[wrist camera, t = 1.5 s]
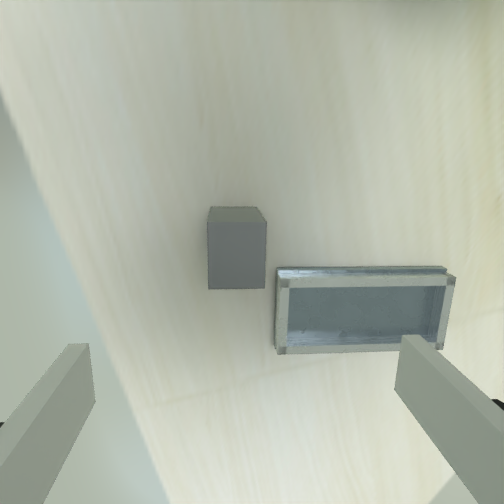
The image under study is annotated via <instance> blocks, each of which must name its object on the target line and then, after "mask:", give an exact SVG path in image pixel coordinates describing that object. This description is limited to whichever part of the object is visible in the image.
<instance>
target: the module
mask: <svg viewBox="0 0 504 504" xmlns="http://www.w3.org/2000/svg"><path fill="white" fill-rule="evenodd" d="M266 227H267V222H266V221H265V219H264V217H263V216H262V214H261V213H260V211H259V210H258V208H257V207H211V208H210V212H209V217H208V221H207V238H208V289H260V288H265V261H266Z"/></svg>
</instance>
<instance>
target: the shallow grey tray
mask: <svg viewBox="0 0 504 504" xmlns="http://www.w3.org/2000/svg"><path fill="white" fill-rule="evenodd" d="M446 271H447V269H446V268H444V267H442V266H409V267H294V268H277V280H276V306H275V332H274V347H275V349H276V351H277V354H278V355H279V354H313V353H347V352H381V351H400V347H401V340H402V335H418V334H419V335H420V336H421V337H422V338H424V339H425V340H426V341H427V342H428V343H429V344H430V345H431V346H432V347H433V348H435V349H436V350H443V346H444V340H445V335H446V330H447V324H448V319H449V313H450V308H451V303H452V297H453V292H454V287H455V281H456V277H455V276H453V275H451V274H449V273H447V272H446Z"/></svg>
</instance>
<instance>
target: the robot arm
mask: <svg viewBox="0 0 504 504" xmlns="http://www.w3.org/2000/svg"><path fill="white" fill-rule="evenodd" d="M394 390H395V391H396V393H397V394H398V395H399V397H400V398H401V399H402V401H403V402H404V403H405V405H406V406H407V408H408V409H409V410H410V412H411V413H412V414H413V416H414V417H415V418H416V420H417V421H418V422H419V424H420V425H421V426H422V428H423V429H424V431H425V432H426V433H427V435H428V436H429V437H430V439H431V440H432V441H433V443H434V444H435V445H436V447H437V448H438V449H439V451H440V452H441V454H442V455H443V456H444V458H445V459H446V460H447V462H448V463H449V464H450V466H451V467H452V468H453V470H454V471H455V472H456V474H457V475H458V477H459V478H460V479H461V481H462V482H463V483H464V485H465V486H466V487H467V489H468V490H469V491H470V493H471V494H472V495H473V497H474V498H475V499H476V501H477V502H478V504H504V403H503V402H501V401H499V400H498V399H490V398H489V397H488V396H487V395H485V394H484V393H483V392H482V391H481V390H480V389H479V388H478V387H477V386H476V385H474V384H473V383H472V382H471V381H470V380H469V379H468V378H467V377H466V376H464V375H463V374H462V373H461V372H460V371H459V370H458V369H457V368H456V367H455V366H453V365H452V364H451V363H450V362H449V361H448V360H447V359H446V358H445V357H443V356H442V355H441V354H440V353H439V352H438V351H437V350H436V349H435V348H433V347H432V346H431V345H430V344H429V343H428V342H427V341H426V340H425V339H424V338H422V337H421V336H420V335H419V334H418V335H402V340H401V347H400V353H399V360H398V367H397V374H396V381H395V388H394ZM95 402H96V401H95V393H94V385H93V376H92V368H91V359H90V351H89V344H88V343H86V344H68V346H67V347H66V348H65V349H64V350H63V352H62V353H61V354H60V355H59V357H58V358H57V359H56V360H55V361H54V363H53V364H52V365H51V366H50V368H49V369H48V370H47V371H46V372H45V374H44V375H43V376H42V377H41V379H40V380H39V381H38V382H37V383H36V385H35V386H34V387H33V389H32V390H31V391H30V392H29V393H28V395H27V396H26V397H25V398H24V399H23V401H22V402H21V403H20V404H19V406H18V407H17V408H16V409H15V411H14V412H13V413H12V414H11V415H10V417H9V418H8V419H7V420H6V421H5V422H1V423H0V504H43V503H44V501H45V499H46V497H47V495H48V493H49V491H50V489H51V487H52V485H53V484H54V482H55V480H56V478H57V476H58V474H59V472H60V470H61V468H62V466H63V464H64V462H65V460H66V458H67V456H68V454H69V453H70V451H71V449H72V447H73V445H74V443H75V441H76V439H77V437H78V435H79V433H80V431H81V429H82V427H83V425H84V423H85V421H86V419H87V418H88V415H89V414H90V412H91V409H92V408H93V406H94V404H95Z"/></svg>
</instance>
